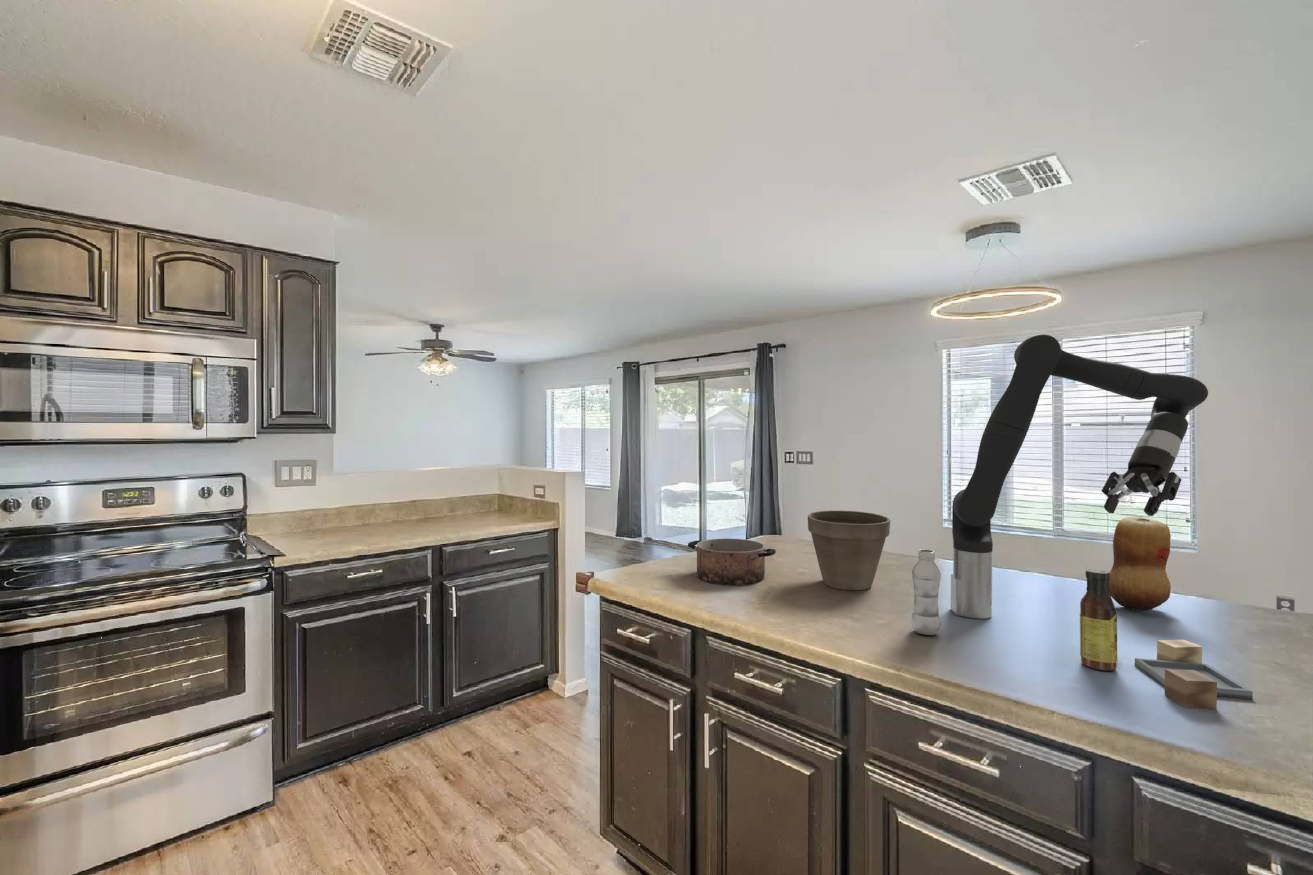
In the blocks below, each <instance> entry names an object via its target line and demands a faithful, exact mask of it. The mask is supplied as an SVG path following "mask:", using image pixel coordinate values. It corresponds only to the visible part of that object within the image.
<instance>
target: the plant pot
mask: <svg viewBox="0 0 1313 875" xmlns="http://www.w3.org/2000/svg"><path fill="white" fill-rule="evenodd" d="M807 530H808V532H809V533H811V539H812V543H813V547H814V550H815V555H816V558H817V559H816V560H817V562H818V567H819V572H820V574H821V577H822V580H823V583H824V585H826V586H828V587H830V588H833V589H837V590H843V591H864V590H868V589H870V588H871V587H872V586H873V584H874V580H875V577H876V573H877V571H878V567H879V564H880V561H881V558H882V557H881V556H882V552H883V549H884V546H885V542H886V539H887V537H889V535H890V530H891V519H890V518H889V517H887V516H885V515H881V514H876V513H872V512H865V511H855V510H818V511H813V512H810V513H809V514H808V515H807Z"/></svg>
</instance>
